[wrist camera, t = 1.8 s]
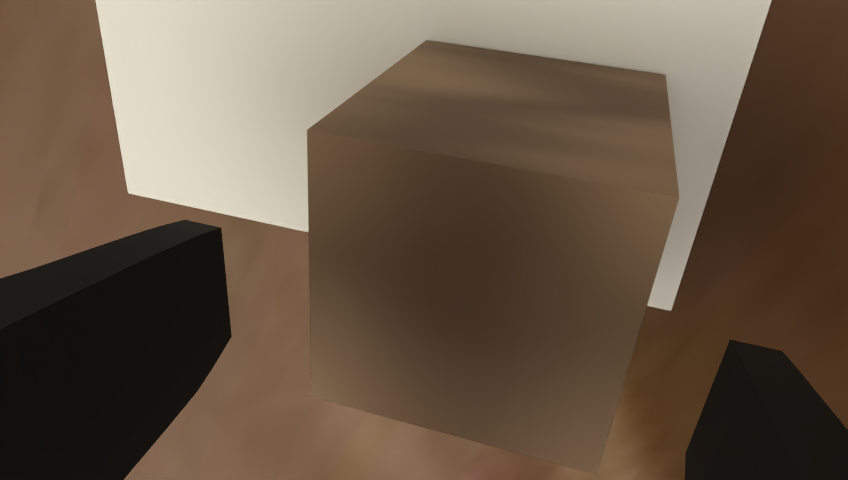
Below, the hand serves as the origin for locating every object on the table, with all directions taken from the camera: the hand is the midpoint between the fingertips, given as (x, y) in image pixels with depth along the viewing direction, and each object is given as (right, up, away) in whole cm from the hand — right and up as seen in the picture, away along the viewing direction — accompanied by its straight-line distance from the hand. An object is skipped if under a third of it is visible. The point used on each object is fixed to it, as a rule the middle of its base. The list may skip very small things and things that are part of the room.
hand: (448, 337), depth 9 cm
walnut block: (+2, +3, +6) cm, 7 cm away
